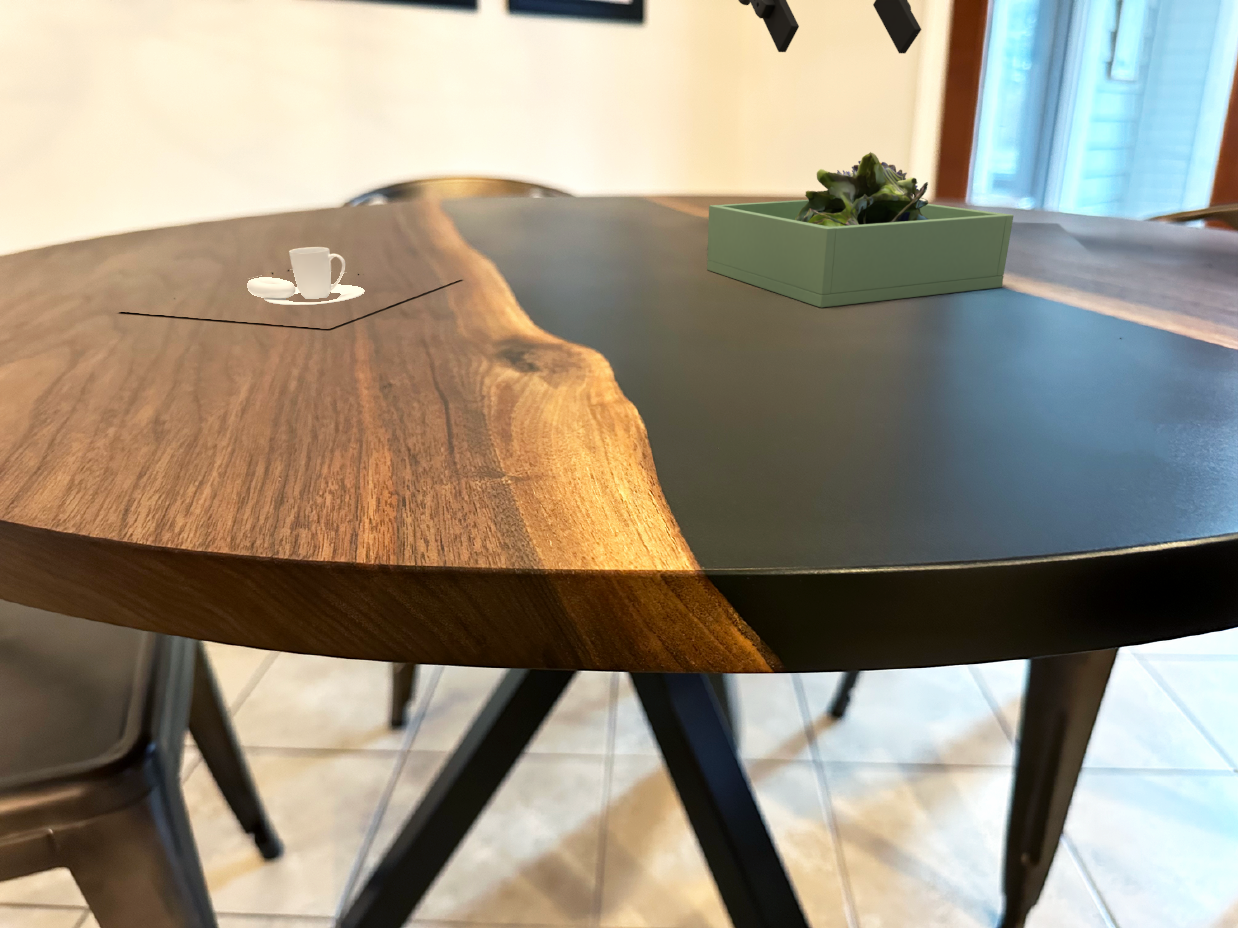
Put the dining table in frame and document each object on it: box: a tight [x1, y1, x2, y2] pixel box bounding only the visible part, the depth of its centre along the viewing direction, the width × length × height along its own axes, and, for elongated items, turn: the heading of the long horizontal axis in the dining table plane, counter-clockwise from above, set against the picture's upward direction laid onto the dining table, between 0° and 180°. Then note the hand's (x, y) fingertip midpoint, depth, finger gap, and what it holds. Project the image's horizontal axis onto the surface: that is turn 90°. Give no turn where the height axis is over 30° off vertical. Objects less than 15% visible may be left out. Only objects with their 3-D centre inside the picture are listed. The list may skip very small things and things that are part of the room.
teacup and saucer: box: [247, 246, 365, 305], centre depth 69 cm, size 9×8×4 cm
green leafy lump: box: [795, 151, 929, 227], centre depth 74 cm, size 11×11×12 cm
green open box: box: [706, 199, 1014, 309], centre depth 75 cm, size 19×19×6 cm
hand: (851, 41), depth 77 cm, fingers open, 13 cm apart
